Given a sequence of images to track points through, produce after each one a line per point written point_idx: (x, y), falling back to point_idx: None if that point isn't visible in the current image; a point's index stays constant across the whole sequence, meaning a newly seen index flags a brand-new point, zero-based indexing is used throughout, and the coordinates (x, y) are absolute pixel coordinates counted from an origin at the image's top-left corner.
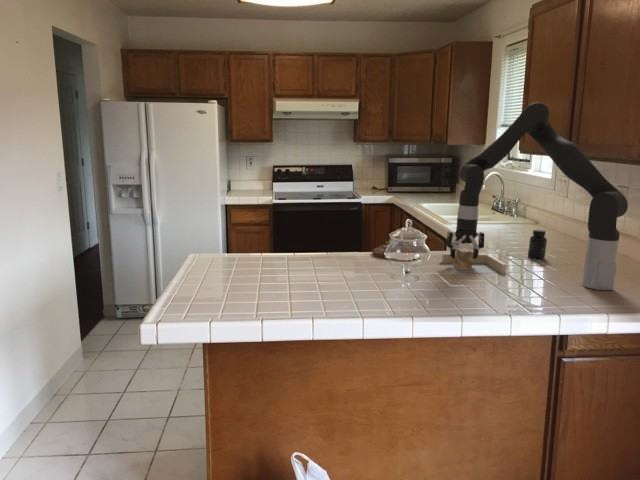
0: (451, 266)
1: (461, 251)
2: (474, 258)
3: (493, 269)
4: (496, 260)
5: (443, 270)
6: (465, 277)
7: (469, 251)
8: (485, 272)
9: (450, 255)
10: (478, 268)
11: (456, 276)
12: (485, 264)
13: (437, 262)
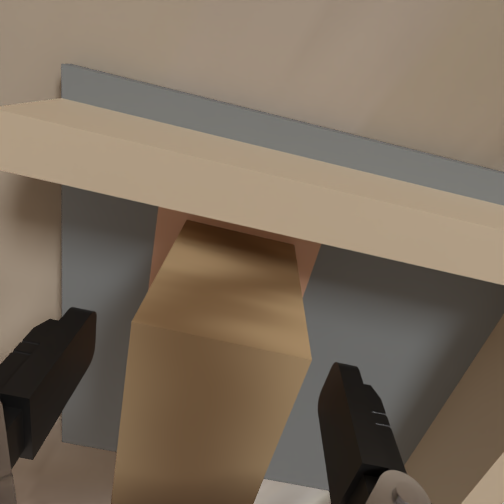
0: (98, 300)
1: (115, 477)
2: (319, 401)
3: (408, 431)
4: (469, 501)
5: (6, 339)
6: (104, 482)
7: (231, 493)
8: (283, 470)
9: (36, 334)
10: (307, 392)
11: (54, 460)
12: (490, 301)
13: (32, 47)
